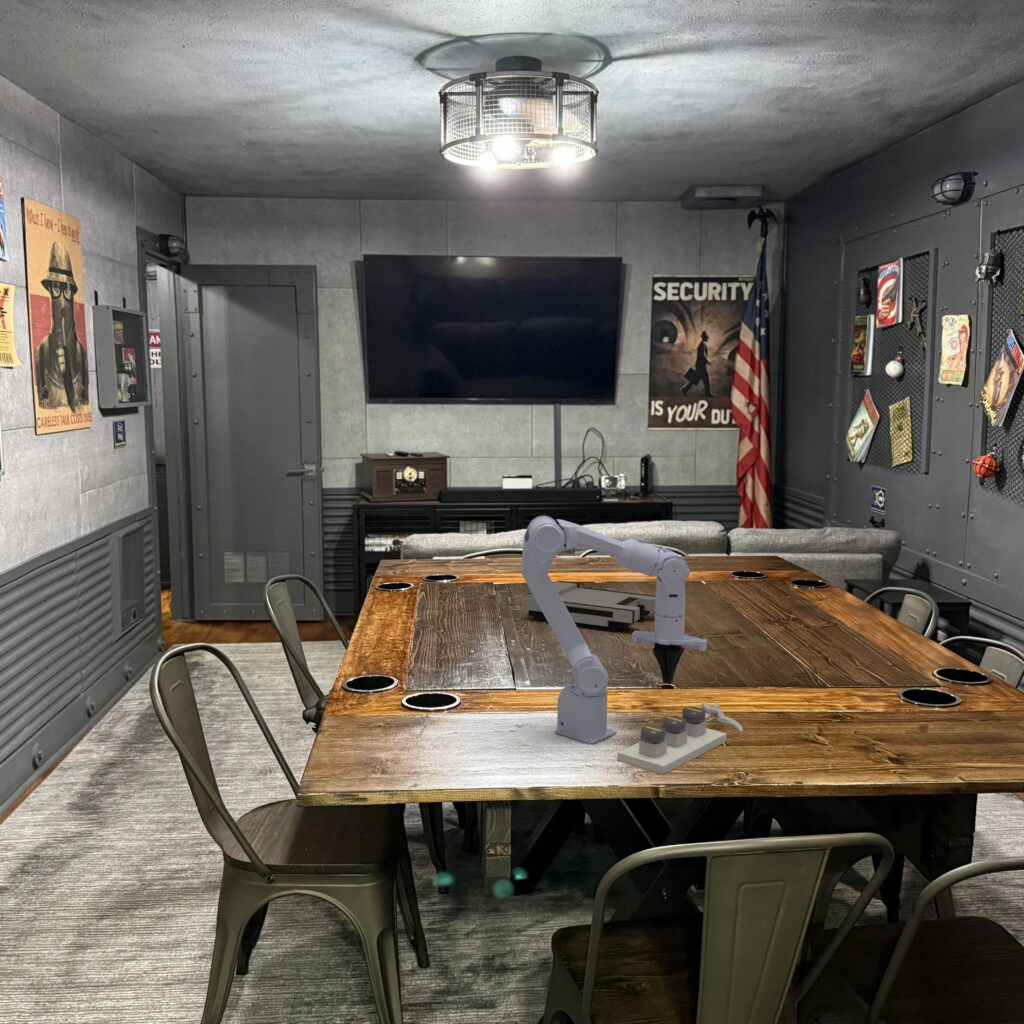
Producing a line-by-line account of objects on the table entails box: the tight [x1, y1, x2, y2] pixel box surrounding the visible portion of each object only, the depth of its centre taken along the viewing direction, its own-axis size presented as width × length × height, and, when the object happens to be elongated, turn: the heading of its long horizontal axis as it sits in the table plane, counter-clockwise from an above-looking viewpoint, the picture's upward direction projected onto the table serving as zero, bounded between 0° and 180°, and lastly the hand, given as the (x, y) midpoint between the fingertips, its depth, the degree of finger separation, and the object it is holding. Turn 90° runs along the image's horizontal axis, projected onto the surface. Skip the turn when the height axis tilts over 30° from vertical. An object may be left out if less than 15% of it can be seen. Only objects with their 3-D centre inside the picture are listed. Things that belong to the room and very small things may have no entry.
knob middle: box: [661, 715, 686, 733], centre depth 194 cm, size 4×4×4 cm
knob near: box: [640, 724, 666, 744], centre depth 189 cm, size 4×4×4 cm
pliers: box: [701, 701, 744, 734], centre depth 212 cm, size 10×2×15 cm
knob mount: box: [617, 719, 728, 775], centre depth 195 cm, size 10×22×4 cm, turn 139°
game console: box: [525, 580, 655, 633], centre depth 293 cm, size 21×32×8 cm, turn 62°
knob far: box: [681, 706, 706, 724], centre depth 200 cm, size 4×4×4 cm
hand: (668, 682), depth 203 cm, fingers closed
